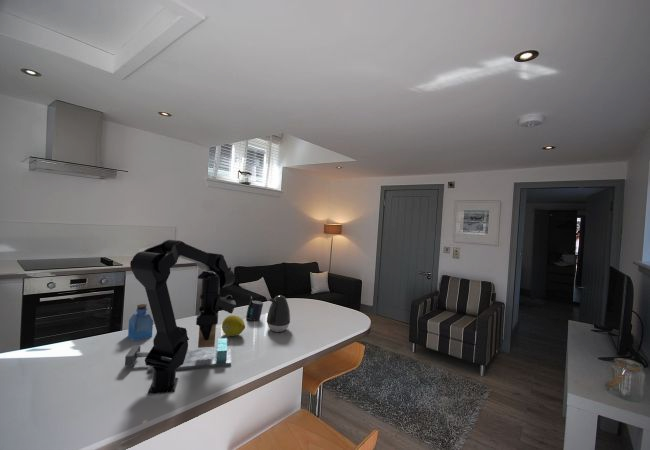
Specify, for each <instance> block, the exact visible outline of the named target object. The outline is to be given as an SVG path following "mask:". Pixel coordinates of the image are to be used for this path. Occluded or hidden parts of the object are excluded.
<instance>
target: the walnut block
mask: <svg viewBox="0 0 650 450" xmlns="http://www.w3.org/2000/svg"><path fill="white" fill-rule="evenodd" d="M198 327H199V326H198ZM198 329H199V330H198V340H197V341H198V343H197V349H205V348H215V346H216V345H215V343H216V331H217V324H216V325H213V326H212V329H211V332H210V336H209V339H208V340H205V339H204V337H203V334H202V332H201V329H200V327H199V328H198Z"/></svg>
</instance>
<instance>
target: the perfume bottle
mask: <svg viewBox="0 0 650 450" xmlns="http://www.w3.org/2000/svg"><path fill="white" fill-rule="evenodd" d="M147 306H148V305H147V304H145V303H140V304H138V305H137V306H136V307H137V308H136V309H135V311H136V313H135V312H134V313H133V314H132V315H131V317H129V320H128V329H127V337H129V338H130V339H131V340H132V341H133V342H135V341H140V340H144V339H145V340H146V339H149V338H152V337H153V329H154V327H153V326H154V319H153V317H151V315H150V314H149V313H148V312H147V311H148V307H147Z"/></svg>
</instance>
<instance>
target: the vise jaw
mask: <svg viewBox="0 0 650 450" xmlns="http://www.w3.org/2000/svg"><path fill="white" fill-rule="evenodd" d="M149 352H150V350H149V351H141V344H133V345H132V346H131V347H130V350H129V351H128V352H127V354H126V355H125V359H124V360H125V361H124V367H133V366H134V363H135V362H136V361H137V360H138V359H139V358H146V357H147V355H148V354H149ZM162 357H163V356H162ZM165 358H168V357H165Z"/></svg>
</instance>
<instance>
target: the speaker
mask: <svg viewBox="0 0 650 450" xmlns="http://www.w3.org/2000/svg"><path fill="white" fill-rule="evenodd" d="M263 306H264V302H262V301H260V300H253V297H252V296H250V298H249V303H248V305H247V311H246V315H245V318H246V321H248V320H250V321H253V322H254V321H255V322H256V321H260V319H261V315H262V311H263Z"/></svg>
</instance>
